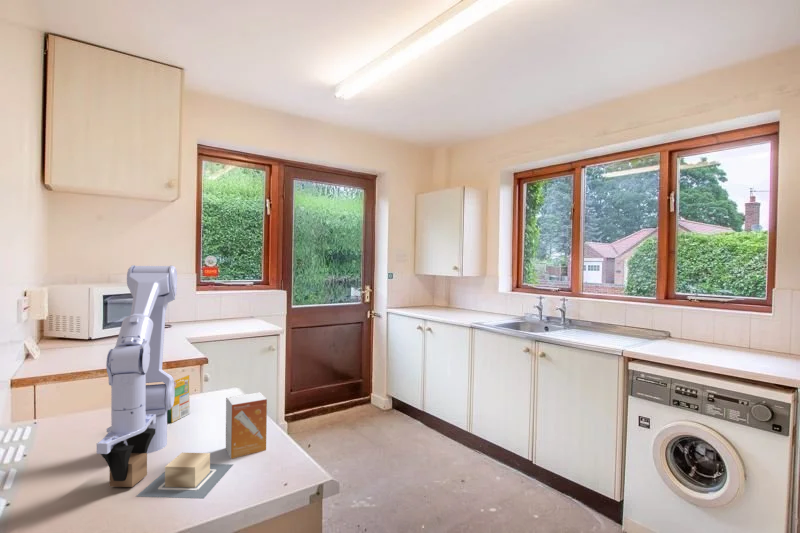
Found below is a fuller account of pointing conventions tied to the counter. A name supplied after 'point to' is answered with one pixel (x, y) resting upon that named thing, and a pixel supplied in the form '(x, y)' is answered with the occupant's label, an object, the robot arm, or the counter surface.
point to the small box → (246, 424)
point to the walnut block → (133, 471)
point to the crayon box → (180, 400)
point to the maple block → (187, 470)
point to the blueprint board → (199, 491)
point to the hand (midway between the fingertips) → (128, 473)
